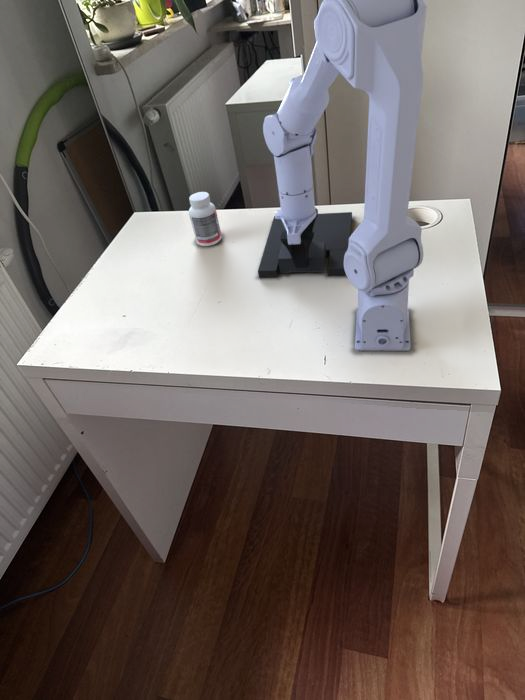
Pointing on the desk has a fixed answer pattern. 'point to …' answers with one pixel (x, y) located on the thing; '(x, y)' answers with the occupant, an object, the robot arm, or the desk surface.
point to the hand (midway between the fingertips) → (303, 257)
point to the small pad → (314, 262)
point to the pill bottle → (204, 219)
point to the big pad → (325, 229)
